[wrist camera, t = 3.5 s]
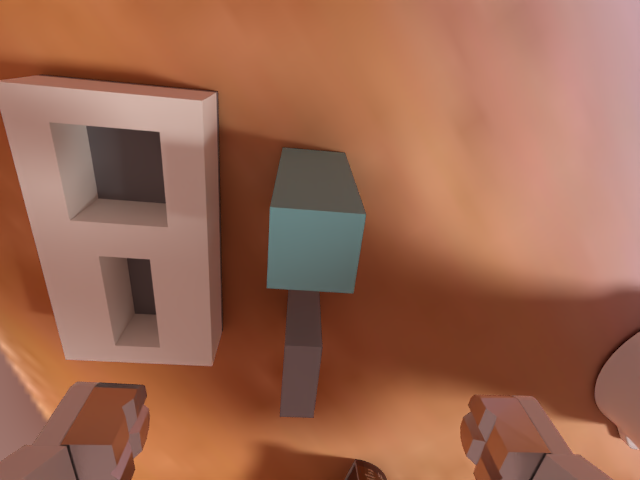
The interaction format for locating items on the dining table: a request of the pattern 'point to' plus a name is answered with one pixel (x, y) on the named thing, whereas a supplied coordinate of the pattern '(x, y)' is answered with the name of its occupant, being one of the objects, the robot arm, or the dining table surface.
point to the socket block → (123, 213)
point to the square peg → (314, 223)
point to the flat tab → (301, 354)
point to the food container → (364, 471)
